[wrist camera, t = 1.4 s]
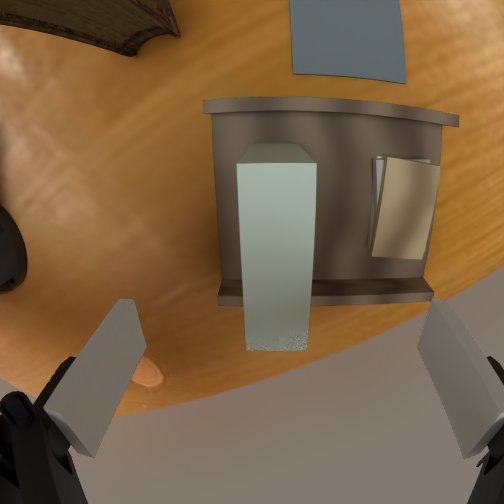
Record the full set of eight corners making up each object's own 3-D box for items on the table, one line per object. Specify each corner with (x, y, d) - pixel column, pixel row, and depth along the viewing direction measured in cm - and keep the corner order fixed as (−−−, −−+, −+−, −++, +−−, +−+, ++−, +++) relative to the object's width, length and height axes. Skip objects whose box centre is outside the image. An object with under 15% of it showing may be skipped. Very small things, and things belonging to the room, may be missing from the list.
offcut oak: (369, 252, 31) (371, 256, 30) (383, 155, 27) (387, 156, 26) (418, 255, 30) (422, 259, 30) (436, 164, 26) (440, 166, 25)
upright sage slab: (257, 255, 34) (246, 350, 20) (253, 142, 29) (236, 163, 15) (294, 255, 34) (306, 350, 20) (295, 141, 29) (316, 163, 15)
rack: (224, 282, 37) (218, 305, 33) (213, 103, 29) (203, 100, 24) (416, 279, 36) (431, 301, 31) (435, 113, 27) (459, 115, 23)
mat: (292, 74, 27) (293, 73, 27) (283, -62, 20) (284, -64, 19) (404, 83, 26) (405, 83, 26) (388, -49, 19) (389, -51, 19)
